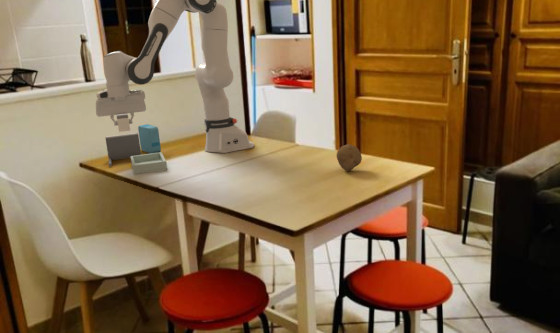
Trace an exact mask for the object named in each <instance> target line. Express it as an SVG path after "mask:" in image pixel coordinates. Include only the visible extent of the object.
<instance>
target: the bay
mask: <svg viewBox="0 0 560 333" xmlns="http://www.w3.org/2000/svg"><path fill="white" fill-rule="evenodd" d="M105 144H106V150H107V158H108V166H109V168H112V167H113V164H112V161H114V160H115V161H116V160H125V159H131V157H130V156H137V155H142V152H141V151H142V149H141V145H140V138H139V132H132V133H125V134H115V135H107V136H105ZM124 158H125V159H124ZM111 166H112V167H111Z"/></svg>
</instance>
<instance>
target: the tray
mask: <svg viewBox="0 0 560 333" xmlns="http://www.w3.org/2000/svg"><path fill="white" fill-rule="evenodd" d="M130 157H131V158H130V163H131V167H132V170H133V171H132V172H133V174H134V175H139V174H145V173H152V172H159V171H166V170H167V171H168V166H167V165H168V164H167V160H166V158H165V156H164V154H163V152H161V151H160V152H157V153H152V154H151V153H146V154H141V155H137V156H130Z"/></svg>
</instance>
